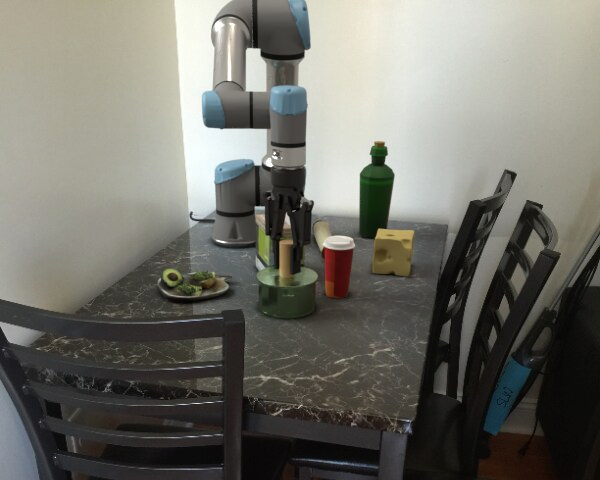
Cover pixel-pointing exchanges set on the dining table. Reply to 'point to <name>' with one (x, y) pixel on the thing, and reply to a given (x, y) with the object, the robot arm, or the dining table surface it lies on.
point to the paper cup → (338, 265)
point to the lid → (286, 272)
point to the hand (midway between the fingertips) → (287, 270)
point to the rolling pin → (321, 234)
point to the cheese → (393, 252)
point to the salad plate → (191, 285)
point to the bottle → (375, 192)
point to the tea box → (269, 242)
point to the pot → (287, 301)
